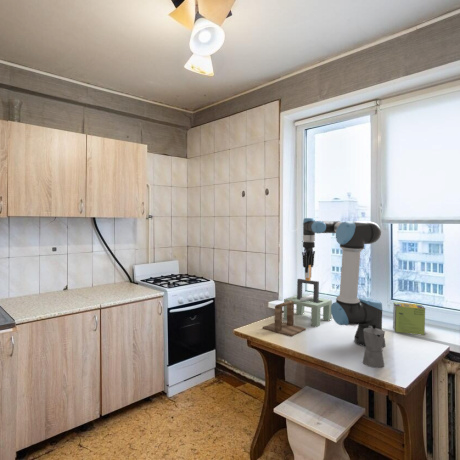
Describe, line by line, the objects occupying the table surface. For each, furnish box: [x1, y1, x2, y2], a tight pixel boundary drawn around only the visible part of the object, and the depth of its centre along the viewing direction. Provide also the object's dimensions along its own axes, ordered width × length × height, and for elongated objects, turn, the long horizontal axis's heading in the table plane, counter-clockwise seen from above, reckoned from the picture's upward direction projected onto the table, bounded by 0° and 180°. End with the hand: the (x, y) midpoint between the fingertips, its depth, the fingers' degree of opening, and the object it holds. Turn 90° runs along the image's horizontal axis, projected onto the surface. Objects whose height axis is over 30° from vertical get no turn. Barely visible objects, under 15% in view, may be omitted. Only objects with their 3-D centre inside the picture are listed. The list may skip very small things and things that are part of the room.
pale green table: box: [283, 293, 333, 328], centre depth 217 cm, size 20×24×15 cm
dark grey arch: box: [296, 265, 320, 303], centre depth 217 cm, size 2×14×24 cm, turn 48°
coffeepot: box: [362, 324, 386, 369], centre depth 151 cm, size 15×9×18 cm, turn 174°
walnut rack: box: [262, 300, 307, 338], centre depth 196 cm, size 16×20×16 cm
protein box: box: [392, 302, 426, 336], centre depth 196 cm, size 10×15×16 cm
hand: (308, 277), depth 217 cm, fingers closed on dark grey arch, 2 cm apart
